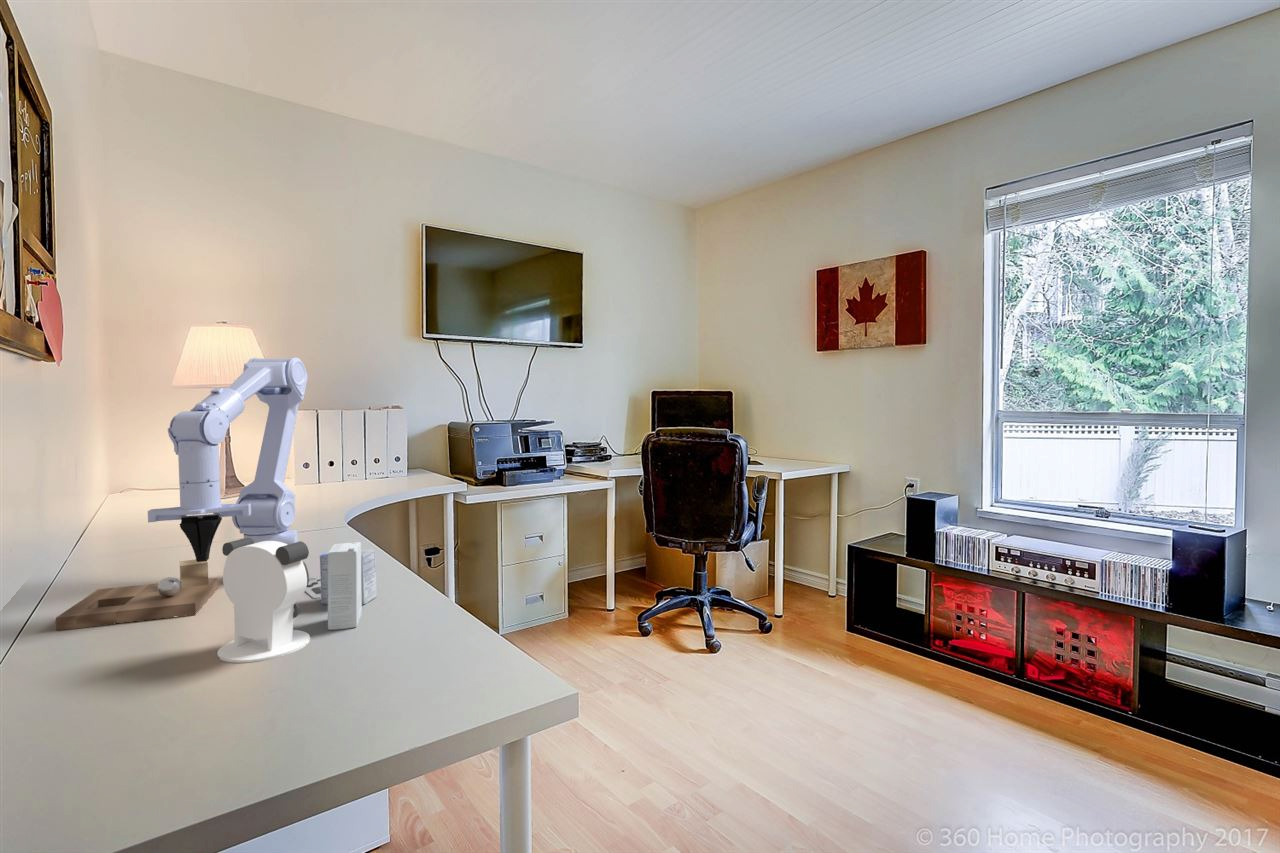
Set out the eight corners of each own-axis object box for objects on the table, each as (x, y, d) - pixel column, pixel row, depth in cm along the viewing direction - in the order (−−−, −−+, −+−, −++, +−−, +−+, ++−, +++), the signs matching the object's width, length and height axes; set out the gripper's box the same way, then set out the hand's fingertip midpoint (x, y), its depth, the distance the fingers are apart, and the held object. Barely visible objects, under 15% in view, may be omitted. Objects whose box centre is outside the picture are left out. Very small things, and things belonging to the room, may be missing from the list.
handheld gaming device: (341, 571, 130) (365, 587, 119) (342, 574, 130) (366, 591, 119) (293, 579, 125) (313, 597, 113) (293, 583, 125) (314, 601, 113)
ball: (183, 592, 111) (182, 574, 111) (178, 597, 108) (177, 578, 108) (161, 594, 110) (160, 576, 110) (154, 600, 107) (154, 581, 107)
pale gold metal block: (207, 579, 119) (206, 558, 119) (208, 584, 116) (207, 562, 116) (180, 583, 117) (179, 561, 116) (181, 588, 113) (180, 566, 113)
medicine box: (377, 597, 114) (376, 549, 114) (364, 605, 110) (362, 555, 109) (335, 596, 115) (333, 548, 114) (320, 604, 110) (318, 554, 110)
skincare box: (333, 618, 103) (331, 543, 103) (363, 615, 105) (361, 541, 104) (326, 631, 97) (324, 552, 97) (359, 628, 99) (356, 549, 98)
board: (218, 588, 120) (217, 577, 120) (195, 614, 105) (195, 602, 105) (98, 600, 113) (97, 589, 113) (56, 630, 99) (55, 617, 99)
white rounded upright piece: (331, 636, 96) (328, 535, 95) (268, 667, 85) (264, 553, 84) (265, 628, 99) (262, 531, 98) (197, 657, 88) (192, 548, 87)
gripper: (140, 486, 104) (143, 570, 104) (244, 481, 109) (247, 561, 110) (154, 481, 110) (157, 560, 111) (252, 477, 115) (254, 552, 116)
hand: (202, 560), depth 111 cm, fingers closed
